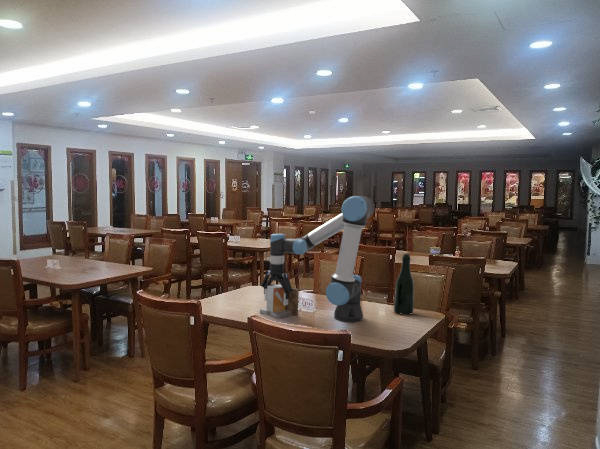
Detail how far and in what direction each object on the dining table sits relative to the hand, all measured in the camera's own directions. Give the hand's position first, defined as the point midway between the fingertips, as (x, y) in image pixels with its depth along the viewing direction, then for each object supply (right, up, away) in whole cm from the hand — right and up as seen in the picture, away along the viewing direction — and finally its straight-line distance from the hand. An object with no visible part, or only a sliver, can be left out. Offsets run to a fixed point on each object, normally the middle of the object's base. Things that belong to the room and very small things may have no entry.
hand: (276, 302), depth 250 cm
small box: (0, -4, 0) cm, 4 cm away
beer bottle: (+70, -8, +11) cm, 71 cm away
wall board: (+1, -6, +2) cm, 6 cm away
